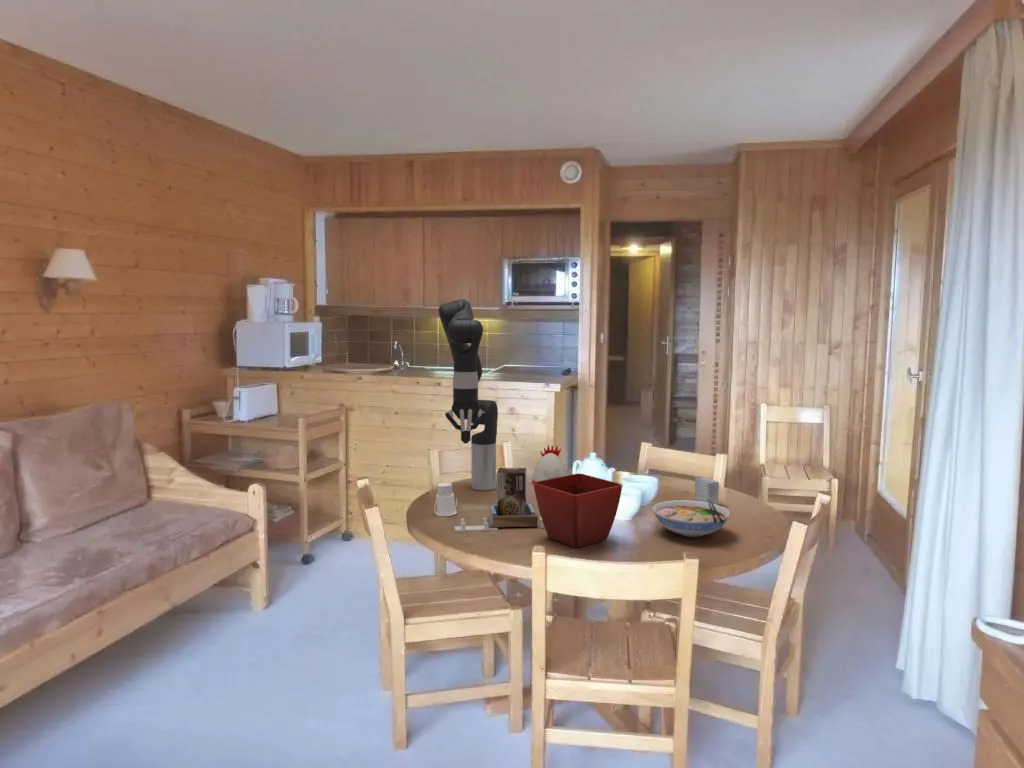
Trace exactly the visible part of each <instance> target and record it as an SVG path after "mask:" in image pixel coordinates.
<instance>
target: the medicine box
mask: <svg viewBox="0 0 1024 768" xmlns="http://www.w3.org/2000/svg"><path fill="white" fill-rule="evenodd" d="M694 480H695V481H694V501H701V502H707V503H708V501H709V503H711V502H712V504H716V505H719V499H720V498H719V489H720V488H719V487H720V483H719V481H717V480H715V479H712V478H709V477H707V476H702V477H700V476H699V477H696V478H694ZM707 499H708V500H707ZM709 499H710V500H709ZM710 501H711V502H710Z"/></svg>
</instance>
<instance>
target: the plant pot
mask: <svg viewBox="0 0 1024 768" xmlns="http://www.w3.org/2000/svg"><path fill="white" fill-rule="evenodd" d="M533 490H534V495H535V499H536V502H537V508H538V511H539V515H540V517H541V518H542V521H543V524H544V527H545V528H544V529H545V532H546V535H547V537H548V538H549V539H551V540H554V541H557V542H560V543H562V544H565V545H568V546H569V547H572V548H581V547H585V546H588V545H593V544H596V543H599V542H602V541H603V542H604V541H606V540H607V539H608V538H609V535H610V532H611V529H612V527H613V525H614V521H615V518H616V515H617V511H618V508H619V504H620V500H621V495H622V491H623V484H622V483H619V482H614V481H611V480H607V479H603V478H600V477H596V476H592V475H588V474H585V473H573V474H567V476H562V477H557V478H552V479H547V480H542V481H537V482H534V485H533Z"/></svg>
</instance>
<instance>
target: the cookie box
mask: <svg viewBox="0 0 1024 768" xmlns="http://www.w3.org/2000/svg"><path fill="white" fill-rule="evenodd" d="M496 488H497V493H496V494H497V504H498V516H512V515H527V514H526V503H527V468H526V467H498V470H497V471H496Z"/></svg>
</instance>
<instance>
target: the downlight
mask: <svg viewBox="0 0 1024 768" xmlns="http://www.w3.org/2000/svg"><path fill="white" fill-rule="evenodd" d="M435 496H436V497H435V498H436V499H435V502H434V507H433V511H434V513H435V515H436V516H438V517H451V516H454V515H456V514H457V513H458V512H457V510H456V509H457V505H458V497H455V493H454V492H453V485H452V483H451V482H441V483H438V484H437V493H436V495H435ZM455 501H456V502H455Z"/></svg>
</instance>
